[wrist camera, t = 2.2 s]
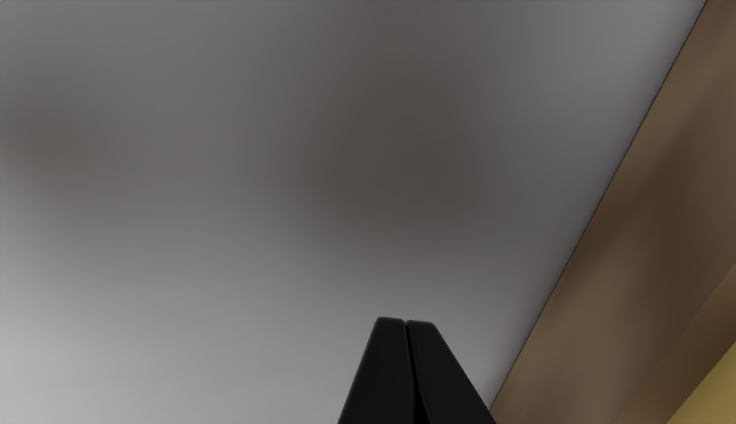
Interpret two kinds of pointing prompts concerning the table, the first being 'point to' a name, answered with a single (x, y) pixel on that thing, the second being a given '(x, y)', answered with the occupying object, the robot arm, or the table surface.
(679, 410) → the ochre block
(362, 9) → the table surface
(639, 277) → the walnut deck
